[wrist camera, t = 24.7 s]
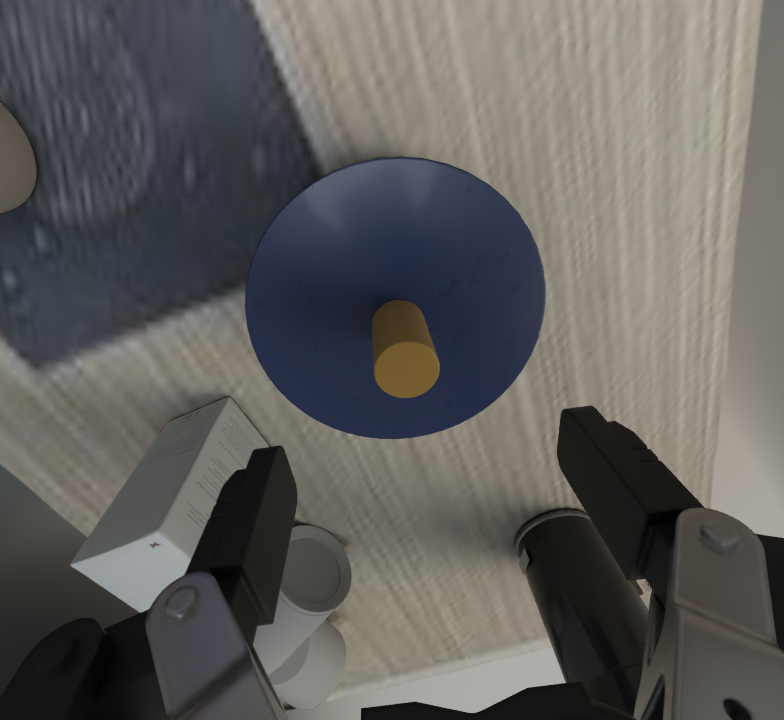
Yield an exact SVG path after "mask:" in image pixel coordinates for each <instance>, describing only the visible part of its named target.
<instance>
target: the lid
mask: <svg viewBox="0 0 784 720" xmlns="http://www.w3.org/2000/svg"><path fill="white" fill-rule="evenodd" d="M545 286H546V285H545V278H544V270H543V265H542V261H541V258H540V254H539V251H538V248H537V245H536V243H535V241H534V239H533V237H532V235H531V232H530V230H529V229H528V227H527V225H526V224H525V222H524V221H523V219H522V218H521V216H520V215H519V213H518V212H517V211H516V210H515V209H514V208H513V207H512V205H511V204H510V203H509V202H508V201H507V200H506V199H505V198H504V197H503V196H502V195H501V194H500V193H498V192H497V191H496V190H495V189H493V188H492V187H491V186H490V185H489V184H487V183H486V182H484V181H482V180H480V179H479V178H477V177H475V176H474V175H472V174H470V173H469V172H466V171H464V170H461V169H459V168H456V167H454V166H451V165H449V164H446V163H441V162H437V161H433V160H429V159H424V158H414V157H402V156H398V157H383V158H374V159H370V160H365V161H361V162H356V163H353V164H350V165H347V166H345V167H342V168H339V169H337V170H334V171H332V172H330V173H328V174H326V175H325V176H323V177H321V178H319V179H318V180H316V181H314V182H312V183H311V184H310V185H308V186H307V187H306V188H304V189H303V190H302V191H301V192H299V193H298V194H297V195H295V196H294V197H293V198H292V199H291V200H290V201H289V202H288V203H287V204H286V205H285V206H284V207H283V208H282V209H281V210H280V211H279V212H278V214H277V215H276V216H275V218H274V219H273V221H272V222H271V223H270V225H269V226H268V228H267V229H266V230H265V232H264V234H263V236H262V238H261V240H260V242H259V244H258V246H257V248H256V250H255V253H254V256H253V259H252V262H251V265H250V268H249V272H248V278H247V284H246V294H245V311H246V320H247V327H248V331H249V335H250V339H251V343H252V346H253V348H254V350H255V353H256V355H257V358H258V360H259V362H260V364H261V365H262V367H263V369H264V371H265V372H266V374H267V376H268V377H269V378H270V380H271V381H272V382H273V384H274V385H275V386H276V387H277V389H278V390H279V391H280V392H281V393H282V394H283V395H284V396H285V397H286V398H287V399H288V400H289V401H290V402H291V403H292V404H294V405H295V406H296V407H298V408H299V409H300V410H301V411H303V412H304V413H306V414H307V415H309V416H311V417H312V418H314V419H315V420H317V421H319V422H321V423H323V424H325V425H328V426H330V427H332V428H334V429H337V430H340V431H343V432H346V433H350V434H354V435H358V436H363V437H370V438H379V439H402V438H413V437H418V436H424V435H429V434H432V433H436V432H439V431H442V430H445V429H448V428H450V427H453V426H455V425H458V424H460V423H462V422H464V421H466V420H467V419H469V418H471V417H473V416H475V415H476V414H478V413H479V412H481V411H482V410H484V409H485V408H487V407H488V406H489V405H490V404H492V403H493V402H494V401H495V400H496V399H497V398H499V397H500V396H501V395H502V394H503V393H504V392H505V391H506V390H507V388H508V387H509V386H510V385H511V384H512V383H513V382H514V380H515V379H516V378H517V376H518V375H519V374H520V372H521V371H522V370H523V368H524V366H525V365H526V363H527V361H528V359H529V358H530V356H531V354H532V352H533V349H534V347H535V345H536V342H537V340H538V337H539V333H540V330H541V326H542V323H543V317H544V310H545Z"/></svg>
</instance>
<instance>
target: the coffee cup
mask: <svg viewBox="0 0 784 720" xmlns="http://www.w3.org/2000/svg"><path fill="white" fill-rule="evenodd" d="M36 177H37V167H36V162H35V156H34V153H33V150H32V147H31V145H30V142H29V140H28V138H27V136H26V134H25V132H24V131H23V129H22V128H21V126H20V125H19V123H18V122H17V120H16V119H15V118H14V116H13V115H12V114H11V113H10V112H9V111H8V109H7V108H6V107H5V106H4V105H3V104H2V103H1V102H0V213H3V212H6V211H10V210H12V209H15V208H16V207H18V206H20V205H21V204H22V203H24V202H25V201H26V200H27V199H28V198H29V196H30V195H31V193H32V191H33V189H34V186H35V182H36Z"/></svg>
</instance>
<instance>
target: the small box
mask: <svg viewBox="0 0 784 720" xmlns="http://www.w3.org/2000/svg"><path fill="white" fill-rule="evenodd" d="M266 447H270V446H269V445H268V444H267V443H266V441H265V440H264V439H263V438H262V436H261V435H260V434H259V433H258V431H257V430H256V429H255V428H254V426H253V425H252V424H251V423H250V421H249V420H248V419H247V418H246V416H245V415H244V414H243V413H242V411H241V410H240V409H239V408H238V406H237V405H236V404H235V403H234V401H233V400H232V399H231V398H230V397H226V398H224V399H221V400H219V401H217V402H214V403H212V404H210V405H207V406H205V407H202V408H200V409H198V410H195V411H193V412H191V413H188V414H186V415H184V416H181V417H179V418H177V419H174V420H172V421H169V422H168V423H167V424H166V425H165V427H164V428H163V429H162V431H161V432H160V434H159V435H158V437H157V438H156V440H155V441H154V443H153V444H152V445H151V447H150V448H149V450H148V451H147V453H146V454H145V455H144V457H143V458H142V460H141V461H140V463H139V464H138V466H137V467H136V468H135V470H134V471H133V473H132V474H131V476H130V477H129V479H128V480H127V482H126V483H125V485H124V486H123V488H122V489H121V491H120V492H119V493H118V495H117V496H116V498H115V499H114V501H113V502H112V504H111V505H110V506H109V508H108V509H107V511H106V512H105V514H104V515H103V517H102V518H101V520H100V521H99V523H98V524H97V525H96V527H95V528H94V530H93V531H92V533H91V534H90V536H89V537H88V539H87V540H86V542H85V543H84V544H83V546H82V547H81V549H80V550H79V552H78V553H77V555H76V556H75V558H74V559H73V561H72V562H71V564H70V565H71V566H72V567H73V568H75V569H77V570H78V571H80V572H81V573H83V574H84V575H86V576H87V577H89V578H90V579H92V580H93V581H94V582H96V583H97V584H99V585H100V586H102V587H103V588H105V589H106V590H108V591H109V592H110V593H112V594H113V595H115V596H116V597H118V598H119V599H121V600H122V601H124V602H125V603H127V604H128V605H130V606H131V607H132V608H134V609H136V610H137V611H138V612H140V613H142V612H144V611H146V610H148V609H150V607H151V605H152V603H153V602H154V600H155V599H156V597H157V596H158V595H159V594H160V593H161V592H162V590H163V589H165V588H166V587H167V586H168V585H169V584H170V583H172V582H173V581H175V580H176V579H178V578H180V577H182V576H184V574H185V572H186V570H187V568H188V566H189V563H190V561H191V559H192V556H193V554H194V552H195V549H196V547H197V545H198V542H199V540H200V538H201V535H202V533H203V531H204V528H205V526H206V524H207V521H208V519H209V518H210V517H211V516H210V514H211V512H212V510H213V507H214V505H216V501H217V498H218V496H219V494H220V491H221V489H222V487H223V485H224V483H225V482H226V481H227V480H228V479H229V478H230V477H231V476H232V474H233V473H234V472H235V471H236V470H240V469H246V467H247V464H248V461H249V459H250V456H251V454H252V452H253V450H254V449H259V448H266Z"/></svg>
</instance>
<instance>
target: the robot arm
mask: <svg viewBox="0 0 784 720" xmlns="http://www.w3.org/2000/svg"><path fill="white" fill-rule="evenodd" d="M557 457H558V462H559V465H560V468H561V470H562V472H563V474H564V476H565V477H566V479H567V481H568V482H569V484H570V486H571V487H572V489H573V491H574V492H575V494H576V496H577V497H578V499H579V501H580V502H581V504H582V506H583V507H584V509H585V511H586V512H587V513H584V512H581V511H577V510H558V511H553V512H549V513H546V514H543V515H541V516H539V517H537V518H535V519H533V520H532V521H530V522H529V523H527V524H526V525H525V526H524V527H523V528H522V529H521V530H520V531H519V533H518V535H517V537H516V539H515V550H516V553H517V555H518V557H519V559H520V561H519V565H520V568H521V570H522V573H523V575H524V573H525V574H526V577H527V580H528V583H529V586H530V588H531V591H532V594H533V596H534V599H535V602H536V604H537V607H538V610H539V612H540V615H541V618H542V620H543V623H544V626H545V628H546V631H547V634H548V636H549V639H550V642H551V644H552V647H553V650H554V652H555V655H556V658H557V660H558V663H559V665H560V668H561V671H562V674H563V676H564V679H565V682H566V683H563V684H555V685H547V686H539V687H531V688H526V689H524V690H522V691H520V692H518V693H516V694H514V695H512V696H510V697H508V698H506V699H504V700H502V701H500V702H498V703H496V704H494V705H492V706H490V707H488V708H486V709H484V710H482V711H480V712H477V713H466V712H462V711H457V710H452V709H447V708H442V707H438V706H433V705H428V704H423V703H418V702H411V703H410V702H409V703H401V704H394V705H385V706H377V707H369V708H361V720H784V538H779V537H772V536H765V535H759V534H755V533H754V532H753V531H752V530H750V529H749V528H748V527H747V526H746V525H744V524H743V523H742V522H740V521H739V520H737V519H735V518H733V517H731V516H729V515H727V514H725V513H722V512H719V511H716V510H712V509H707V508H704V507H703V506H702V504H701V503H700V502H699V501H698V500H697V499H696V498H695V497H694V496H693V495H692V494H691V493H690V492H689V491H688V490H687V488H686V487H685V486H684V485H683V484H682V483H681V482H680V481H679V480H678V479H677V478H676V477H675V476H674V475H673V473H672V472H671V471H670V470H669V469H668V468H667V467H666V466H665V465H664V464H663V463H662V462H661V461H659V460H658V457H657V456H656V455H655V454H654V453H653V452H652V451H651V450H650V449H647V446H646V445H645V444H644V442H643V441H642V440H641V439H640V438H639V437H638V436H637V435H636V434H635V433H634V432H633V431H631V430H629V429H628V428H626V427H624V426H623V425H621V424H619V423H617V422H616V421H612V422H607V421H606V420H605V419H604V417H603V416H602V415H601V414H600V413H599V412H598V411H597V409H596V408H595V407H593V406H584V407H576V408H568V409H564V410H563V411H562V413H561V418H560V427H559V436H558V445H557ZM296 507H297V488H296V483H295V480H294V477H293V474H292V471H291V468H290V465H289V462H288V459H287V456H286V453H285V451H284V448H283V447H282V446H274V447H266V448H259V449H254V450H253V452H252V454H251V456H250V459H249V461H248V464H247V467H246V469H240V470H236V471H235V472H234V473H233V474H232V476H231V477H230V478H229V479H228V480H227V481H226V482H225V483H224V485H223V487H222V489H221V491H220V494H219V496H218V498H217V501H216V505H214V507H213V510H212V512H211V514H210V516H211V517H210V518H209V519H208V521H207V524H206V526H205V528H204V531H203V533H202V535H201V538H200V540H199V542H198V545H197V547H196V549H195V552H194V554H193V556H192V559H191V561H190V563H189V566H188V568H187V570H186V572H185V574H184V576H182V577H180V578H178V579H176V580H175V581H173V582H172V583H170V584H169V585H168V586H167V587H166V588H165V589H163V590H162V592H161V593H160V594H159V595H158V596H157V597H156V599H155V600H154V602H153V603H152V605H151V607H150V609H148V610H146V611H144V612H142V613H139V614H137V615H135V616H132V617H130V618H128V619H126V620H123V621H121V622H119V623H116V624H114V625H112V626H109V627H107V628H105V629H103V628H102V626H101V625H100V624H99V623H98V622H97V621H96V620H94V619H91V618H81V619H77V620H74V621H71V622H68V623H66V624H64V625H63V626H61V627H59V628H58V629H56V630H54V631H53V632H51V633H50V634H49V635H48V636H46V637H45V638H44V639H43V640H42V641H41V642H39V643H38V644H37V646H35V648H34V649H33V650H32V651H31V652H30V653H29V654H28V656H27V657H26V658H25V660H24V661H23V663H22V664H21V666H20V667H19V669H18V670H17V672H16V674H15V675H14V677H13V678H12V680H11V682H10V683H9V685H8V686H7V688H6V690H5V691H4V693H3V695H2V696H1V698H0V720H162V719H164V718H166V717H167V719H168V720H289V719H288V716H287V714H286V712H285V710H284V708H283V706H282V704H281V702H280V700H279V697H278V695H277V693H276V691H275V689H274V687H273V685H272V683H271V681H270V679H269V677H268V674H267V672H266V670H265V668H264V666H263V664H262V662H261V660H260V658H259V656H258V654H257V651H256V649H255V647H254V646H253V643H254V639H255V634H256V630H257V626H262V625H270V624H273V622H274V617H275V612H276V607H277V602H278V597H279V592H280V587H281V582H282V577H283V572H284V567H285V562H286V557H287V552H288V547H289V542H290V537H291V532H292V527H293V522H294V517H295V512H296ZM639 579H646V580H647V582H648V583H649V585H650V586H651V588H652V589H653V590H652V593H651V597H650V605H649V611H648V609H647V607H646V606H645V604H644V603H643V601H642V599H641V598H640V595H642V594H643V591H642V590H641V588H640V586H639V585H638V583H637V581H636V580H639Z"/></svg>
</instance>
